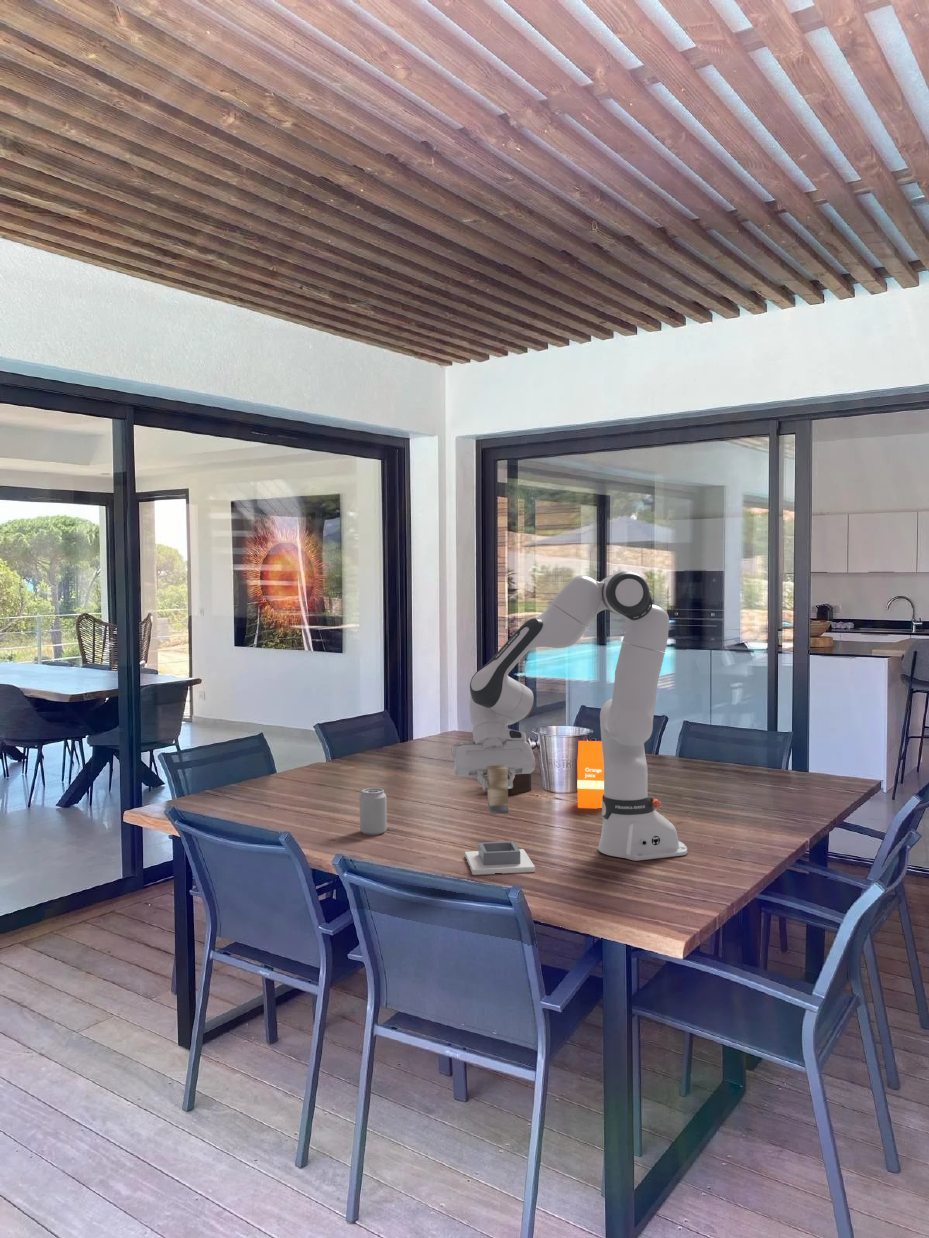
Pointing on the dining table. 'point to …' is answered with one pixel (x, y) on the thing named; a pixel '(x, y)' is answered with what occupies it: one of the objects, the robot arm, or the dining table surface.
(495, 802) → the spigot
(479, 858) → the dock
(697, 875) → the dining table surface
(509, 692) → the robot arm
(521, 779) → the manual coffee grinder
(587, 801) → the orange juice
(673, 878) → the dining table surface
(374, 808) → the can
